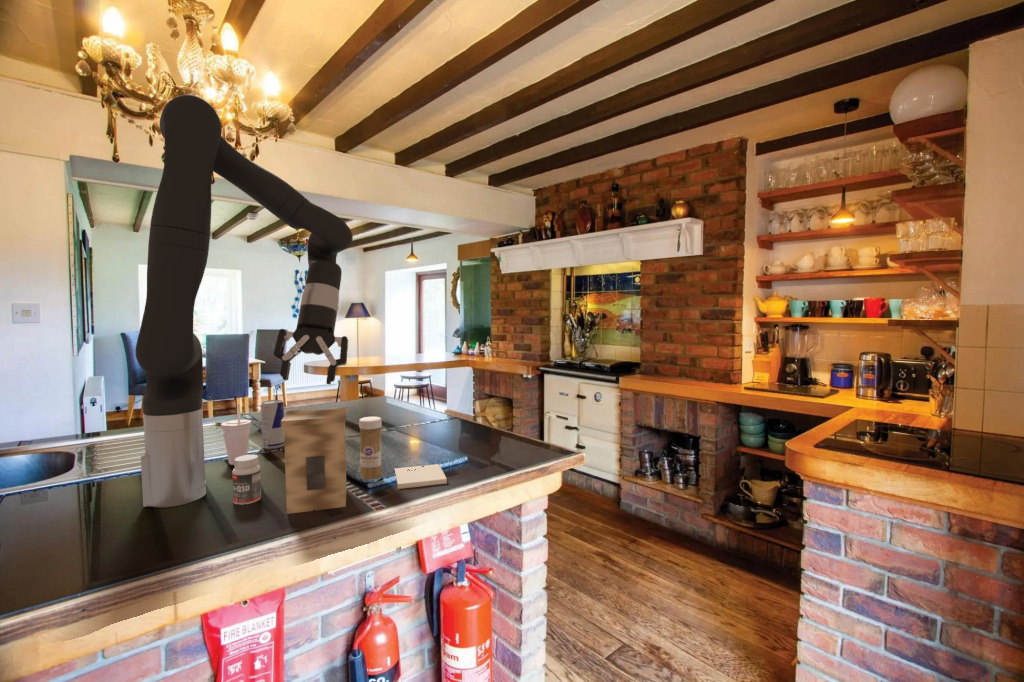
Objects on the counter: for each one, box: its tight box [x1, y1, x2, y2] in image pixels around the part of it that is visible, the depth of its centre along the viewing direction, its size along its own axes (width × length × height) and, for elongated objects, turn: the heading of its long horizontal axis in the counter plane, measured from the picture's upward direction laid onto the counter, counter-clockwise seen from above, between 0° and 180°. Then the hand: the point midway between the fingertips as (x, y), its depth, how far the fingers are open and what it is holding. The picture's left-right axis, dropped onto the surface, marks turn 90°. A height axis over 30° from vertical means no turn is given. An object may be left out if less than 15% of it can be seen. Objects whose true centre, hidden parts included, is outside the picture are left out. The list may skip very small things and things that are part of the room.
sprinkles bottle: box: [358, 416, 383, 479], centre depth 103 cm, size 5×5×14 cm
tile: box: [393, 463, 448, 490], centre depth 104 cm, size 10×10×1 cm
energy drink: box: [260, 399, 285, 450], centre depth 128 cm, size 5×5×12 cm
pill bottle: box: [231, 454, 262, 506], centre depth 92 cm, size 5×5×8 cm
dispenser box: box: [281, 406, 348, 515], centre depth 91 cm, size 11×9×17 cm
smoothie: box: [220, 403, 252, 466], centre depth 114 cm, size 6×6×14 cm
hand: (307, 381), depth 101 cm, fingers open, 8 cm apart
